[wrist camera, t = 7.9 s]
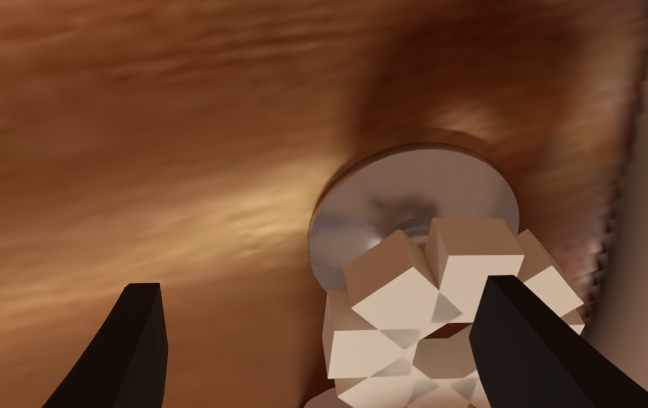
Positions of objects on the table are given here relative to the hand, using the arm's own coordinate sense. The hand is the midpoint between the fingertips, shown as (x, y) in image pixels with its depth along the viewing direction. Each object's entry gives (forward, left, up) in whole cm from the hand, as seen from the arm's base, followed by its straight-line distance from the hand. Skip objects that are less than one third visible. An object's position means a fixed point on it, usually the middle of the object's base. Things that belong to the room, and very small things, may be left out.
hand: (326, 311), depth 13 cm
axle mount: (-5, -5, -10) cm, 12 cm away
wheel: (-5, -5, -5) cm, 9 cm away
